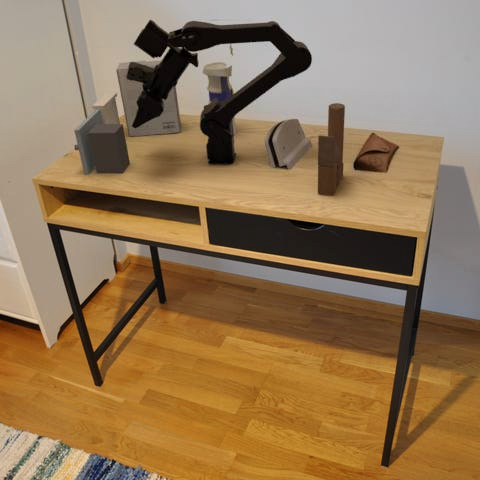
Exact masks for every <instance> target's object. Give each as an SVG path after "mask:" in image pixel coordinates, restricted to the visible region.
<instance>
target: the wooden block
mask: <svg viewBox="0 0 480 480" xmlns="http://www.w3.org/2000/svg"><path fill="white" fill-rule="evenodd" d="M327 113H328V116H327V118H328V119H327V120H328V121H327V135H318V138H317V139H318V140H317V143H318V144H317V147H318V148H317V165H318V166H317V194H318V195H322V196H330V197H331V196H334V194H335V191H336V190H337V186H338V185H339V184H340V182H341V181H342V178H343V176H344V162H343V160H344V159H343V158H344V136H345V135H344V134H345V113H346V106H345V104H343V103H340V102H336V103H335V102H334V103H331V104H329V105H328V111H327Z"/></svg>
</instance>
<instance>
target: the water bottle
mask: <svg viewBox="0 0 480 480" xmlns="http://www.w3.org/2000/svg"><path fill="white" fill-rule="evenodd" d="M229 45H230V46H228V47H229V50H230V55H231V56H232V57H233V56H234V54H233V49H234V48H233V47H232V44H229ZM232 69H233V65H230V66H228V67H227V63H225V62H223V61H221V62H220V61H217V62H210V63H207V64H205V65H204V66H203V69H202V74H203V75H205V76H207V80H208V84H207V85H208V86H206V90H207V92H208V98H209V100H208V104H210V103H211V102H212V101H213V100H214V99H215V98H217V99H218V101H219V102H220V101H223V100H226V99H228V98H229V97H230V96H232V95H233V94H234V93H235V92H234V89H233V86H232V84H231V83H230V82H231V81H230V77H233V74H232ZM208 104H207V105H208ZM230 123H231V130H232V135H234V136H235V135H236V134H237V128H236V121H235V117H234V118H233V119H232V120H231V122H230Z"/></svg>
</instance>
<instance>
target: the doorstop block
mask: <svg viewBox="0 0 480 480" xmlns="http://www.w3.org/2000/svg"><path fill="white" fill-rule="evenodd" d="M88 135H89V140H90V144H91V149H92V153H93V158H94V163H95V171H96V174H113V175H114V174H121V175H122V174H124V173H125V172H126V170H127V168H128V167H129V166H130V164H131V163H130V157H129V151H128V146H127V140H126V135H125V129H124V124H123V123H120V124H96V125H95V126H94V127H93V128H92V130H91V131H90V132H89V133H88Z"/></svg>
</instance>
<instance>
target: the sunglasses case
mask: <svg viewBox="0 0 480 480" xmlns="http://www.w3.org/2000/svg"><path fill="white" fill-rule="evenodd" d="M399 148H400V145H397V144H396V143H393V142H391V141H389V140H388V139H385V138H383V137H381V136H379V135H377V133H375V132H372V133H371V134H370V135H368V138H367V139H366V140H365V142H364V144H363V145H362V147H361V149H360V150H359V152H358V153H357V155H356V157H355V159H354V162H353V164H352V166H353V169H354V170H355V171H360V172H368V173H369V172H371V173H379V174H381V173H382V174H383V173H384V174H387V173H388V167H389V165H390V163H391V160H392V158H393V156H394V155H395V152H396V151H397V150H398V149H399Z"/></svg>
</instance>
